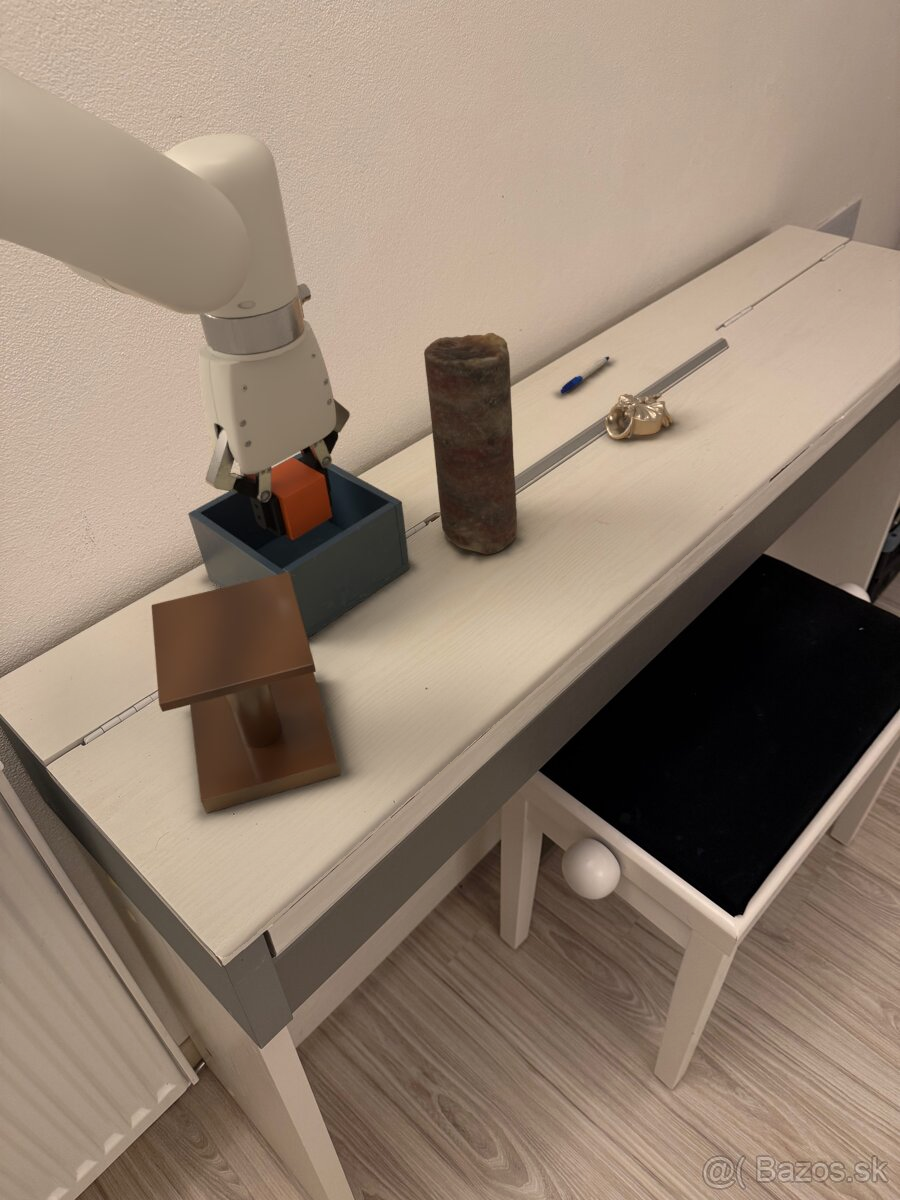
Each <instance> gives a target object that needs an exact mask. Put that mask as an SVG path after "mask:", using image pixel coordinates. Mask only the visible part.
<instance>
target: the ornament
mask: <svg viewBox="0 0 900 1200" xmlns="http://www.w3.org/2000/svg"><path fill="white" fill-rule="evenodd" d="M661 397H662V392H657V393H654V394H650V395H649V396H646V395H645V396H643V397H642V396H636V397H634V395H633V394H628V393H625V394H620V396H618V398H617V399H618V402H617V403H615V404H614V405H613V406H612V407H611V409H610V411H609V413H608V416H607V417H605V419H604V427H605V431H606V433H607V435H608V436H609V437H610V438H612V439H614V440H621V439H629V438H631V437H632V434H635V435H641V436H642V435H652V434H656V433H657V432H659V431H660V430H661V429H662V427H666V428H667V427H669V425H671V424H673V423H674V422H675V419H674V418H673V417H672V415H671V414H670V413H669V412H668V410H667V407H666V402H665V400H660V401H657V400H659V399H660V398H661ZM625 420H627V421H628V422H629V423H628V425H627V427H626V428H624V421H625Z"/></svg>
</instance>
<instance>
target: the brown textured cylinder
mask: <svg viewBox="0 0 900 1200" xmlns="http://www.w3.org/2000/svg"><path fill="white" fill-rule="evenodd" d="M423 355H424V356H423V358H424V365H425V366H424V367H425V375H426V384H427V393H428V402H429V410H430V412H429V413H430V420H431V431H432V440H433V441H432V442H433V450H434V451H433V452H434V453H433V454H434V462H435V463H434V464H435V473H436V484H437V493H438V503H439V512H440V513H439V514H440V521H441V528H442V531H443V533H444V535H445V537H446V538H447V539H448V540H449V541H451V542H452V543H454V544H455V546H457V547H458V548H460V549H464V550H468V551H471V552H476V553H480V554H482V555H493V554H496V553H498V552H501V551H502V550H503V549H505V548H506V547H507V546H509V544H511V543H512V542H513V541H514V540H515V539H516V535H517V530H518V517H517V516H518V515H517V514H518V513H517V493H516V475H515V460H514V459H515V458H514V436H513V409H512V408H513V407H512V388H511V386H512V385H511V384H512V383H511V363H510V362H511V361H510V351H509V349H508V342H507V341H506V340H505V339H504V338H503V337H501V336H500V335H497V334H496V333H494V332H488V333H486V334H472V335H471V334H467V335H464V336H453V337H451V336H444V337H438V338H437V339H435V340H434V341H432V342H431V343H430V344H429V345H428V346H426V348H425V349H424V352H423Z"/></svg>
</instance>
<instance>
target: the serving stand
mask: <svg viewBox="0 0 900 1200" xmlns="http://www.w3.org/2000/svg"><path fill="white" fill-rule="evenodd" d="M151 617H152V632H153V644H154V656H155V657H154V658H155V670H156V682H157V683H156V684H157V685H156V686H157V695H158V697H157V699H158V706H159V708H160V710H161V712H162V713H164V712H168V711H172V710H176V709H179V708H183V707H187V706H189V707H190V708H189V709H190V717H191V718H190V719H191V727H192V735H193V744H194V752H195V761H196V771H197V780H198V787H199V788H198V789H199V797H200V803H201V805H202V807H203V810H204V813H205V814H209V813H211V812H212V813H213V812H215V811H218V810H222V809H226V808H230V807H234V806H237V805H240V804H243V803H247V802H251V801H254V800H258V799H261V798H265V797H268V796H271V795H275V794H279V793H282V792H285V791H286V792H287V791H289V790H292V789H296V788H299V787H303V786H306V785H310V784H314V783H317V782H321V781H324V780H328V779H331V778H334V777H338V776H341V771H340V765H339V762H338V759H337V755H336V754H337V753H336V751H335V746H334V743H333V739H332V736H331V732H330V728H329V724H328V721H327V717H326V714H325V710H324V706H323V702H322V698H321V695H320V690H319V687H318V684H317V680H316V675H315V673H316V672H317V669H316V665H315V661H314V658H313V653H312V651H311V647H310V643H309V638H307V635H306V631H305V628H304V624H303V620H302V617H301V613H300V609H299V605H298V602H297V598H296V594H295V591H294V587H293V583H292V580H291V576H290V573H289V572H287V573H283V574H278V575H274V576H270V577H266V578H262V579H258V580H253V581H249V582H245V583H241V584H237V585H232V586H228V587H224V588H220V587H219V588H216V589H212V590H207V591H204V592H198V593H195V594H191V595H187V596H183V597H178V598H174V599H170V600H166V601H162V602H156V603H153V604H151Z"/></svg>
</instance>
